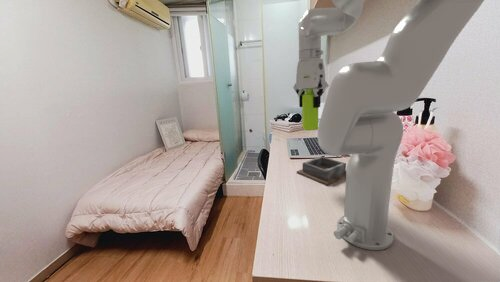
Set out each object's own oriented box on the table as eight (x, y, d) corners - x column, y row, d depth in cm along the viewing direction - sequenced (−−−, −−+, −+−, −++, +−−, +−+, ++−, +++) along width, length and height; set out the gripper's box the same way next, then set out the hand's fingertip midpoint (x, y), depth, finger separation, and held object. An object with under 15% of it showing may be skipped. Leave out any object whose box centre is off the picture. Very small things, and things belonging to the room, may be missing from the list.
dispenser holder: (327, 185, 78) (327, 174, 77) (296, 173, 92) (296, 162, 90) (352, 174, 86) (352, 163, 85) (320, 164, 100) (320, 154, 99)
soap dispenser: (298, 130, 80) (297, 76, 75) (306, 126, 85) (307, 75, 80) (312, 131, 76) (312, 74, 71) (320, 127, 81) (321, 74, 76)
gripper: (337, 52, 69) (335, 106, 73) (298, 60, 83) (299, 105, 87) (323, 51, 65) (322, 109, 69) (285, 59, 79) (286, 107, 83)
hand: (309, 106), depth 78 cm, fingers closed on soap dispenser, 5 cm apart
